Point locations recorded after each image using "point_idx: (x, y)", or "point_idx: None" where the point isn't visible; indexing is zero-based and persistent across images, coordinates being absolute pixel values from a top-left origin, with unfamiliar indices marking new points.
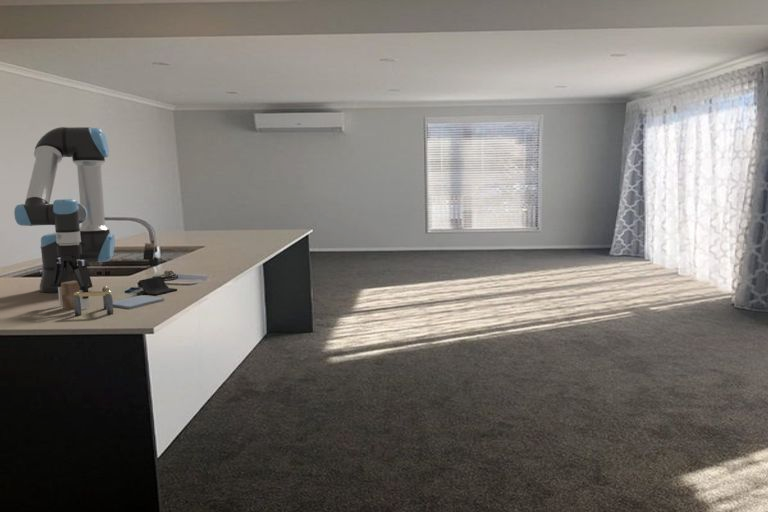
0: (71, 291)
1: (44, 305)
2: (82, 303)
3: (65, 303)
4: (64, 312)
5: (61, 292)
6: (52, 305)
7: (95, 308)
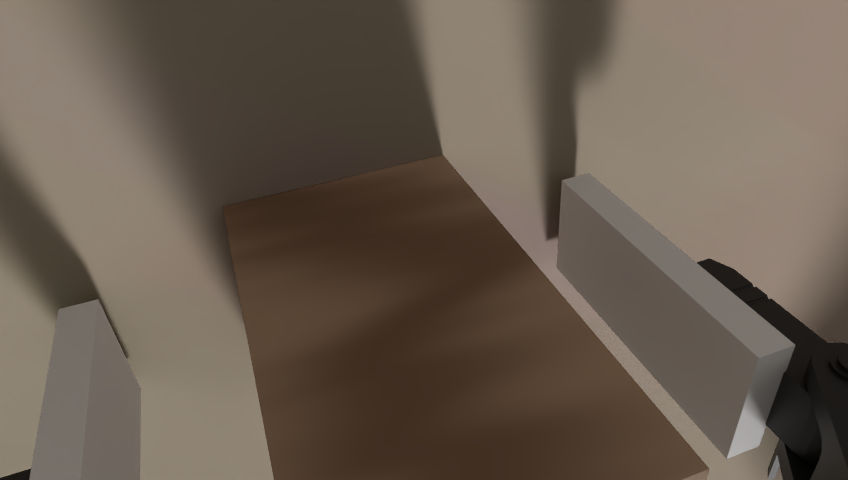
0: (269, 449)
1: (800, 66)
2: (54, 380)
3: (403, 211)
4: (82, 36)
5: (674, 314)
6: (708, 130)
7: (23, 437)
